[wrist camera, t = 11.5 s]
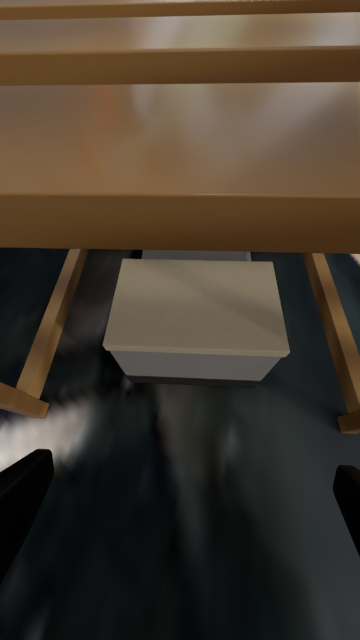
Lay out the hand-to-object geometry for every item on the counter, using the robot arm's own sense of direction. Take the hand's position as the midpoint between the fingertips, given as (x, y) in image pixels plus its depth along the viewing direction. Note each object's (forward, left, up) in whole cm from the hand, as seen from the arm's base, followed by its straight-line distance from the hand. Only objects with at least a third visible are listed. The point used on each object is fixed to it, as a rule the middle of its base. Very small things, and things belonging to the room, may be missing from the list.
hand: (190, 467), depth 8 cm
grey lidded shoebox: (+1, +14, -12) cm, 19 cm away
